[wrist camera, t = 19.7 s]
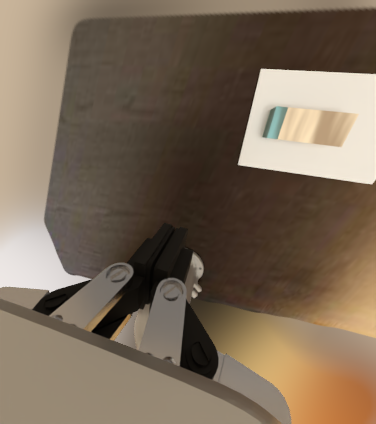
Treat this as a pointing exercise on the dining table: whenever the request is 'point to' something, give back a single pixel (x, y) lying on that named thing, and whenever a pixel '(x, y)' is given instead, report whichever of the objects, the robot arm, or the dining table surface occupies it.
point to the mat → (316, 100)
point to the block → (309, 125)
